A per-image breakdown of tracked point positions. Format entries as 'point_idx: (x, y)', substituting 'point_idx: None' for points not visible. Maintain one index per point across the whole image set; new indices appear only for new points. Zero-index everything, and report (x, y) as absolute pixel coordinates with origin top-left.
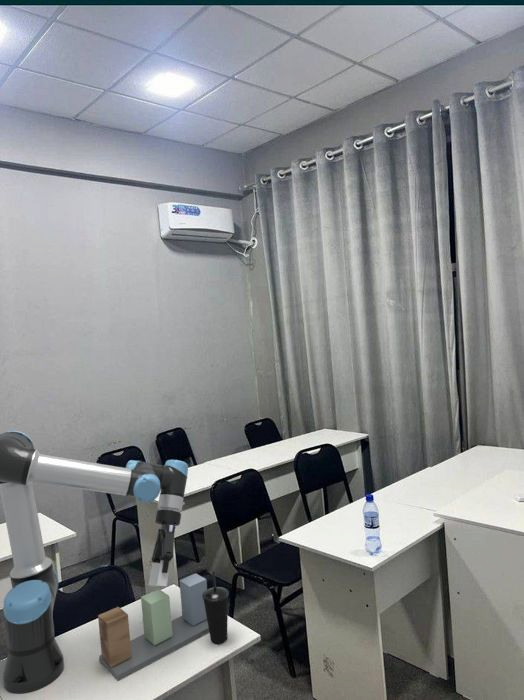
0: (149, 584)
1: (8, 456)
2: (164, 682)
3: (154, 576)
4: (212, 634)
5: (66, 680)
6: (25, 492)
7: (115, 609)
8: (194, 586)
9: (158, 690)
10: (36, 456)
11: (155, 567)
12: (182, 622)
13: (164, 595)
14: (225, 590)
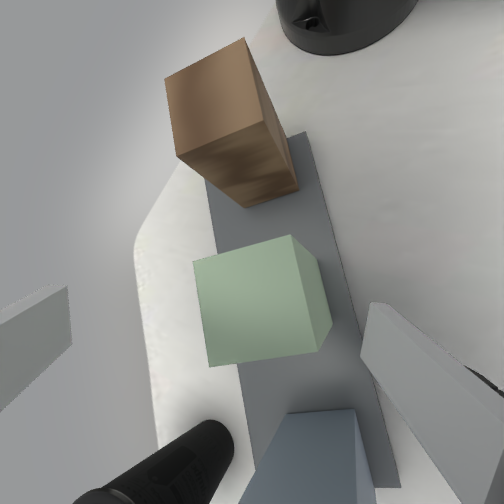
0: (371, 309)
1: None
2: (152, 262)
3: (397, 366)
4: (188, 431)
5: (276, 69)
6: None
7: (246, 107)
8: None
9: (140, 245)
10: None
11: (451, 421)
12: (333, 396)
13: (228, 347)
14: None
